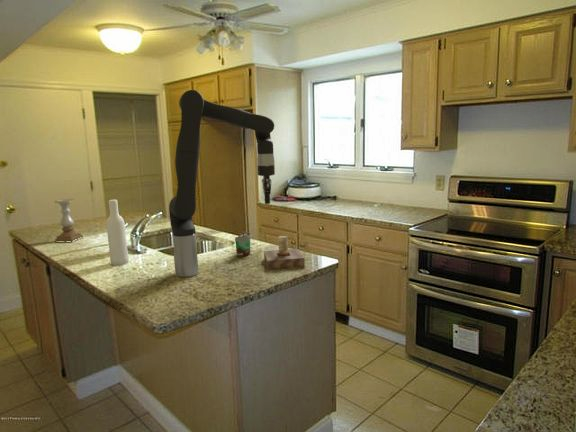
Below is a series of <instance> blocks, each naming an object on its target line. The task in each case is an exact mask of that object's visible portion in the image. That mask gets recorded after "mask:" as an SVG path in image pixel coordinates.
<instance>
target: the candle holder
mask: <svg viewBox="0 0 576 432" xmlns="http://www.w3.org/2000/svg"><path fill="white" fill-rule="evenodd" d="M73 202H75V199H74V198H67V199H63V198H62V199H58V200H57V199H56V200H54V202H53V203H54V204H59V206H60V208H61V210H60V213H61V214H62V218H61V220H60V222H59V224H60V226H61V227H62V228H61V231H63V232H61V234H59V235H57V236H56V238H55V239H54V242H55V241H73V240H75V239H78V238H80V237H83V238H84V235H83V234H81V233H82V232H76V231H74V229H75V227H74V226H73V225H74V224H75V221H74V218H72V216H71V215H70V213H71V209H70V208H69V206H70V204H71V203H73Z"/></svg>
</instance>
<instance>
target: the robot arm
mask: <svg viewBox="0 0 576 432" xmlns="http://www.w3.org/2000/svg"><path fill="white" fill-rule="evenodd" d="M178 104H179V105H178V106H179V108H180V111H181V112H180V113H181V120H180V121H181V122H180V129H179V133H178V136H177V142H176V145H175V146H176V148H175V158H174V164H175V165H174V166H175V172H176V179H177V191H176V196H173V197H172V199H170V202H169V203H168V204H169V205H168V211H169V219H170V220H169V221H170V227H171V228H170V229H171V230H172V231H171V232H172V238H173V239H172V240H173V242H172V243H173V251H174V252H173V262H174V275H175V277H180V278H188V277H189V278H190V277H194V276H195V275H198V274H199V262H198V261H199V260H198V248H197V247H198V246H197V245H198V244H197V234H196V226H195V225H194V222H193V216H194V214H196V209H197V200H196V199H197V198H196V197H197V195H196V191H197V190H196V189H197V187H196V186H197V179H198V177H197V176H198V170H199V169H198V168H199V161H200V160H199V159H200V148H201V147H200V145H201V144H200V142H201V141H200V140H201V137H200V135H201V133H200V130H201V123H202V117H203V118H208V119H213V120H216V121H220V122H223V123H225V124H228V125H232V126H236V127H238V128H242V129H249V130H253V131H254V135H255V139H256V150H257V151H256V152H257V153H256V154H257V155H256V156H257V157H256V166H257V167H256V168H257V175H258V176H259V177H262V179H261V183H262V190H263V196H264V204H265V205H270V203H271V194H272V193H271V191H272V179H271V176H275V175H276V171H275V169H276V168H275V167H276V166H275V156H274V143H273V141H272V137H271V133H272V132H273V131H274V129H275V122H274V120H273V119H272V118H271V117H268V116H265V115H261V114H257V113H252V112H249V111H246V110H243V109H240V108H236V107H233V106H228V105H221V104H218V103H214V102H211V101H209V100H206V99H204V97H203V95H202V94H201V93H200V92H199V91H197V90H195V89H189V90H186V91H184V93H182V95H181V96H180V98H179V101H178Z"/></svg>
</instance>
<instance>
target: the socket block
mask: <svg viewBox="0 0 576 432" xmlns="http://www.w3.org/2000/svg"><path fill="white" fill-rule="evenodd" d="M263 257H264V263H265V265H266V267H267V268H266V269H267V270H270V271H271V270H281V269H282V270H283V269H295V268H305V257H304V255H303V254H302V252H301V251H300V249H299V248H288V256H279V249H274V250H264V251H263Z"/></svg>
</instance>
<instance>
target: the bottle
mask: <svg viewBox="0 0 576 432" xmlns="http://www.w3.org/2000/svg"><path fill="white" fill-rule="evenodd" d="M118 203H119V202H118V200H117V199H110V200H108V205H109V206H108V207H109V213H110V214H109V216H108V218H107V219H106V222H105V223H106V234H107V241H108V242H107V243H108V248H109V250H108V251H109V261H110V265H111V264H112V265H111V266H114V265H119V266H123V265H122V264H124V265H127V264H129V253H128V242H127V234H126V224H125V220H124V218H123V217H122V216H121V214H119V205H118ZM126 263H127V264H126Z"/></svg>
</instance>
